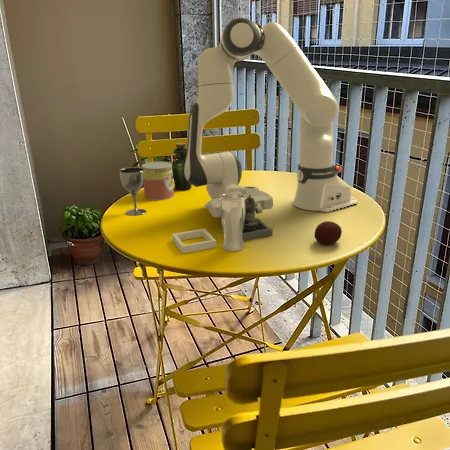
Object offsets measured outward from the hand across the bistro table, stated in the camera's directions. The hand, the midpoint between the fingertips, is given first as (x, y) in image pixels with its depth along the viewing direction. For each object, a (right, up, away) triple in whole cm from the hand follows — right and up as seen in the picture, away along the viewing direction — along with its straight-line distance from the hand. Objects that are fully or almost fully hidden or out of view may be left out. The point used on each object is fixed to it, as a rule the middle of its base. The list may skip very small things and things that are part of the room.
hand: (251, 212), depth 134 cm
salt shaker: (0, -6, +3) cm, 7 cm away
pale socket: (-17, -9, -4) cm, 19 cm away
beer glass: (-5, -10, -7) cm, 13 cm away
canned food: (-33, +7, +40) cm, 52 cm away
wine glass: (-38, +1, +22) cm, 44 cm away
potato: (+22, -9, -5) cm, 24 cm away
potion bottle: (-24, +11, +48) cm, 55 cm away
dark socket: (0, -6, +3) cm, 7 cm away
